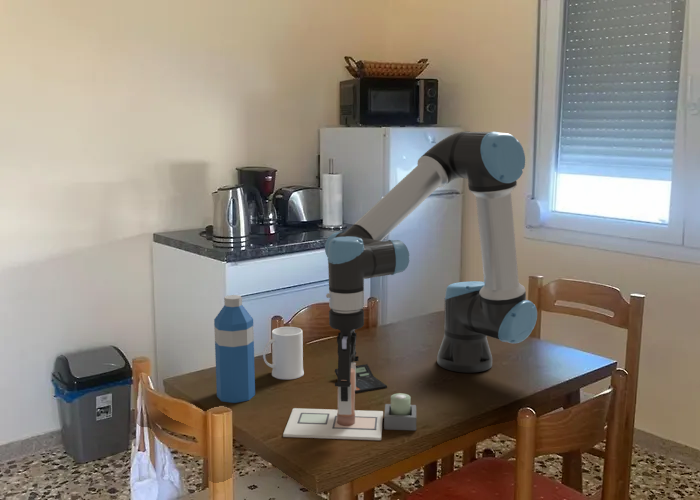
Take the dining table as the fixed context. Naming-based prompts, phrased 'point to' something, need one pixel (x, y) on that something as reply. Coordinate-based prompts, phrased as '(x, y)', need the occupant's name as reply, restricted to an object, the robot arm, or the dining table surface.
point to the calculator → (365, 379)
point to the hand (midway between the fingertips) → (347, 401)
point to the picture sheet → (333, 425)
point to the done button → (400, 404)
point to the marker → (350, 419)
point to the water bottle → (234, 352)
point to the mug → (286, 353)
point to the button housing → (400, 419)
